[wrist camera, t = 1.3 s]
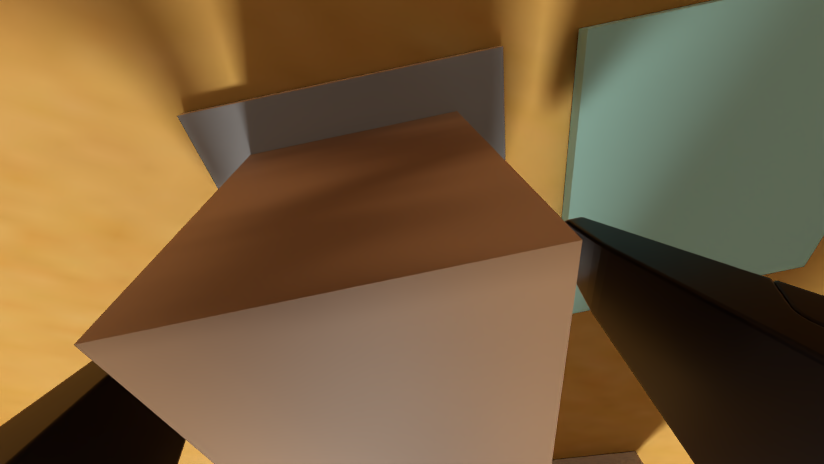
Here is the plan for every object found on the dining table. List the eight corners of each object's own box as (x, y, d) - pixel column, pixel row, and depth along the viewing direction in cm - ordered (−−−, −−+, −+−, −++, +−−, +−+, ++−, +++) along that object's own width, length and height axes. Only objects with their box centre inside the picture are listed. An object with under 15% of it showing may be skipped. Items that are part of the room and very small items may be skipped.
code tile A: (498, 45, 8) (503, 46, 8) (505, 283, 12) (508, 289, 12) (183, 112, 8) (176, 115, 8) (300, 325, 12) (298, 332, 12)
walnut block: (457, 110, 8) (583, 239, 3) (472, 270, 11) (551, 464, 6) (250, 154, 8) (73, 344, 3) (320, 302, 11) (279, 519, 6)
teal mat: (985, -58, 8) (1012, -62, 8) (793, 260, 13) (804, 266, 13) (578, 28, 8) (587, 29, 8) (553, 309, 13) (558, 316, 13)
